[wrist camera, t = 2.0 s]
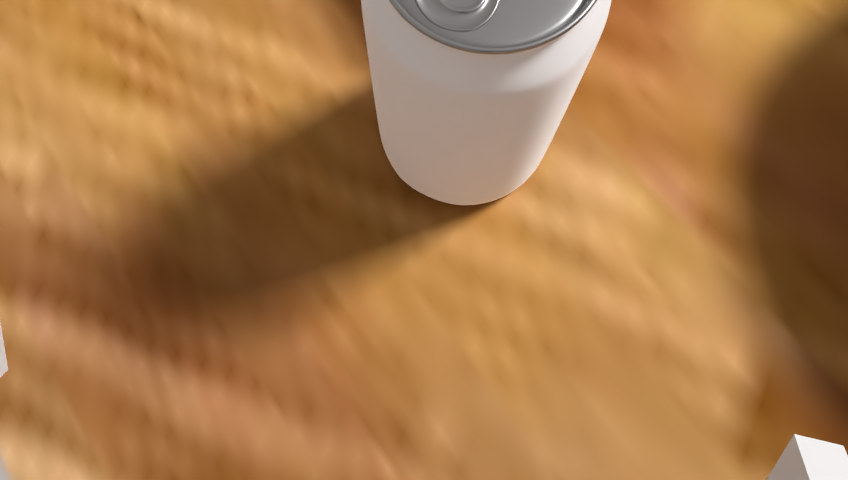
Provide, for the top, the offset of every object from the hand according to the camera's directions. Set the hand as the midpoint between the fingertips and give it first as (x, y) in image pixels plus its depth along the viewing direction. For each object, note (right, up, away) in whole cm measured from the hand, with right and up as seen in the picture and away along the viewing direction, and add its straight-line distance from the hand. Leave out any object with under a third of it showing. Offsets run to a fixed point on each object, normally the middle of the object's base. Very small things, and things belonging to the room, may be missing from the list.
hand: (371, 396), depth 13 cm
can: (+2, +7, +17) cm, 19 cm away
